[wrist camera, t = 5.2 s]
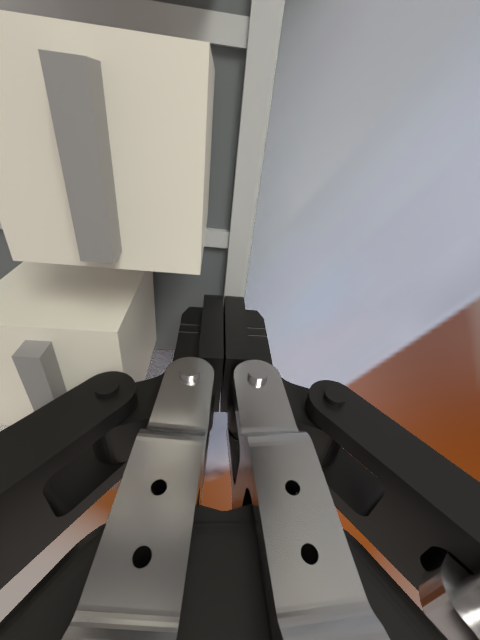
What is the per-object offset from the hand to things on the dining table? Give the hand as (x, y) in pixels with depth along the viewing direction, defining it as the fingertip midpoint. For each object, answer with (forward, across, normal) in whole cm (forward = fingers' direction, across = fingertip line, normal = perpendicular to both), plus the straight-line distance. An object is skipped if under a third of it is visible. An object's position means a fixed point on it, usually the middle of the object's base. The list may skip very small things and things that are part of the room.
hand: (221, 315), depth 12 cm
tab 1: (+1, +3, -5) cm, 6 cm away
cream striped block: (+1, +5, 0) cm, 5 cm away
